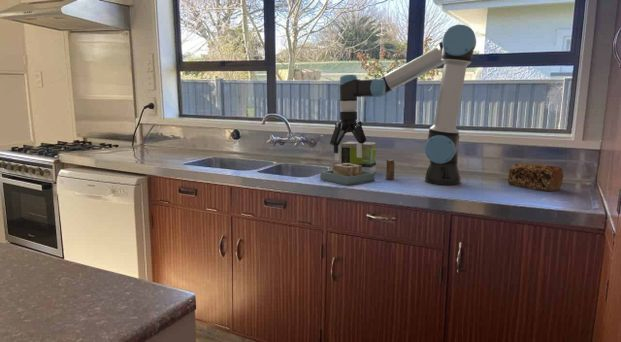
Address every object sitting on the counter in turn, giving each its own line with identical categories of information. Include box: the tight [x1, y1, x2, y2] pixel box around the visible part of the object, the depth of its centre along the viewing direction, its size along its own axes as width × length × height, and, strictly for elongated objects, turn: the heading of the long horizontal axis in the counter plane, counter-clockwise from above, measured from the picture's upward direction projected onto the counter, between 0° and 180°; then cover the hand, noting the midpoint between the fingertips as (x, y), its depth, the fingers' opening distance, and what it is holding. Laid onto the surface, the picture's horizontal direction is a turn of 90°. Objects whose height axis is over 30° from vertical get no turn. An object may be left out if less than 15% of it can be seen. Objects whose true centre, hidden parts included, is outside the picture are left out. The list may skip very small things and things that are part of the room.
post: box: [385, 159, 395, 181], centre depth 205 cm, size 2×3×9 cm
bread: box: [507, 162, 564, 192], centre depth 189 cm, size 19×11×10 cm, turn 33°
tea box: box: [340, 141, 377, 173], centre depth 221 cm, size 15×10×15 cm
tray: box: [320, 169, 376, 187], centre depth 202 cm, size 18×17×4 cm
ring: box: [332, 163, 362, 177], centre depth 201 cm, size 9×12×6 cm
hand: (348, 159), depth 201 cm, fingers open, 13 cm apart
